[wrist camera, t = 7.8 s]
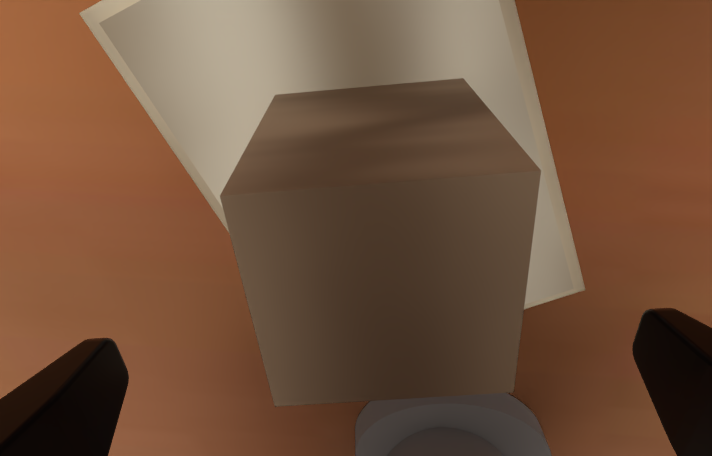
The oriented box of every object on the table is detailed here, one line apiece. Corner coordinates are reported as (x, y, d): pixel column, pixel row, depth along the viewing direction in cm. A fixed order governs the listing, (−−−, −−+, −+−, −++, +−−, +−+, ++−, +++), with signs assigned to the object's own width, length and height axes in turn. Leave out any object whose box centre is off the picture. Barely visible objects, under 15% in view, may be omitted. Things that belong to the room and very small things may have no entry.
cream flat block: (435, -163, 13) (467, -206, 9) (544, 230, 20) (587, 293, 16) (141, -2, 15) (75, 14, 12) (329, 305, 22) (324, 377, 18)
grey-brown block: (463, 78, 12) (540, 170, 7) (458, 239, 15) (513, 392, 10) (274, 94, 13) (219, 195, 7) (301, 250, 15) (274, 406, 10)
